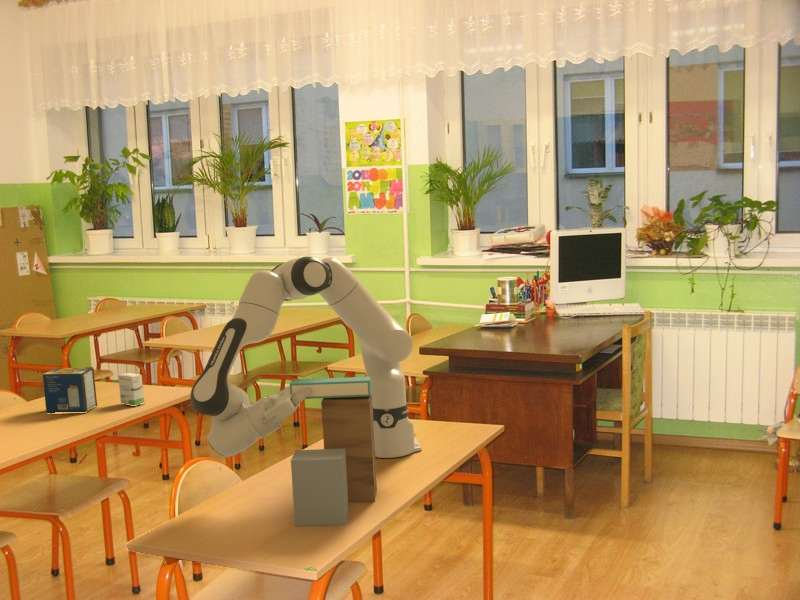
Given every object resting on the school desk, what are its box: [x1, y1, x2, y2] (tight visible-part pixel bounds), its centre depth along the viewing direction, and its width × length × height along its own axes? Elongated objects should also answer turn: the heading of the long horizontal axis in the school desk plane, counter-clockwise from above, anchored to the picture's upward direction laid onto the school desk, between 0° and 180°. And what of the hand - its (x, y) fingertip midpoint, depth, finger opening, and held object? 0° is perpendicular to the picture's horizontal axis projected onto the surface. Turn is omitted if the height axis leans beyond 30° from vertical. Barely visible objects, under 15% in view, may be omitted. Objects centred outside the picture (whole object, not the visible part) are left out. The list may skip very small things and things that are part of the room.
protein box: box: [42, 366, 98, 413], centre depth 331 cm, size 10×15×16 cm
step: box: [290, 448, 350, 527], centre depth 211 cm, size 8×12×16 cm, turn 88°
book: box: [289, 376, 372, 400], centre depth 224 cm, size 4×20×4 cm, turn 88°
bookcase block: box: [320, 392, 378, 504], centre depth 225 cm, size 9×12×26 cm
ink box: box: [117, 372, 145, 405], centre depth 337 cm, size 9×5×12 cm, turn 54°
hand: (312, 386), depth 224 cm, fingers closed on book, 5 cm apart
